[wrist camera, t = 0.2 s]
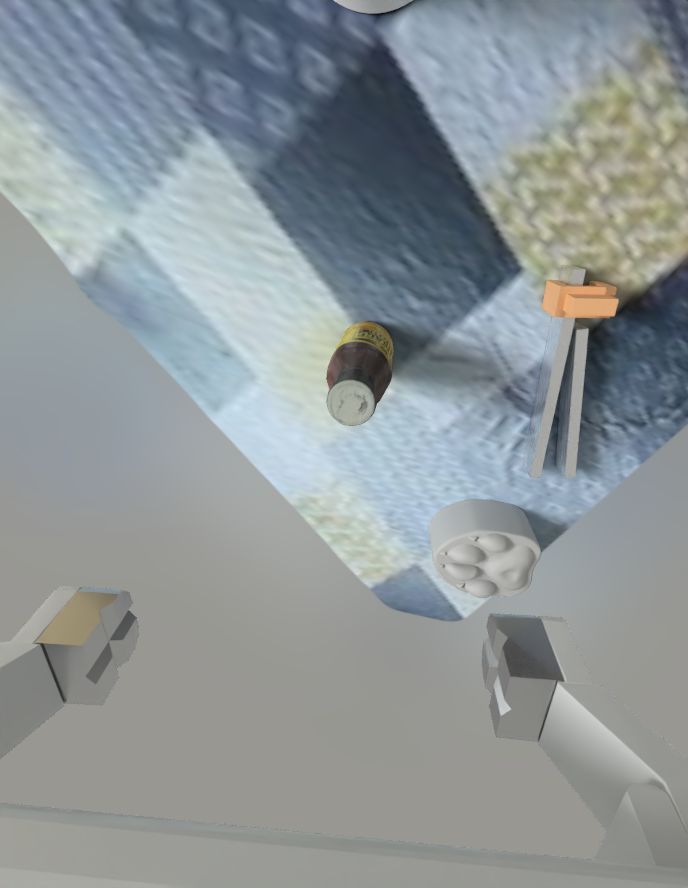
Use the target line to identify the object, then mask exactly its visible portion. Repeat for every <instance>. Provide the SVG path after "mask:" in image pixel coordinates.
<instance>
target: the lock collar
mask: <svg viewBox="0 0 688 888" xmlns="http://www.w3.org/2000/svg"><path fill="white" fill-rule="evenodd" d="M616 290H617V287H614V286H612V285H609V284H606V283H603V282H600V281H589V285H588V286H571V285H566V284H564V283H561V282H559V281H557V280H547V284H546V289H545V295H544V300H543V305H542V309H543V310H544V311H546V312H547V313H549V314H550V315H552V316H553V317H569V318H610V316H615V313H616V309H617V305H618V301H619V299H618V298H615V294H616Z"/></svg>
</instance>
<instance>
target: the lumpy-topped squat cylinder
mask: <svg viewBox="0 0 688 888" xmlns="http://www.w3.org/2000/svg"><path fill="white" fill-rule="evenodd" d="M429 536H430V543H431V550H432V558H433V564H434V567H435V569H436V570H437V572H438V573H439V575H440V576H441V577H442V578H443V579H444V580H445V581H446V582H448V583H449V584H451V585H452V586H454V587H456V588H457V589H459V590H461V591H465V592H469V593H471V594H472V595H474V596H475V597H478V598H487V597H489V596H503V597H505V596H515V595H518V594H520V593H522V592H523V591H525V590H526V589H527V588H528V587H529V586H530V584H531V580H532V572H533V569H534V567H535V565H536V563H537V562H538V561H539V559H540V556H541V548H540V545H539V543H538V541H537V539H536V537H535V534H534V532H533V530H532V528H531V526H530V523H529V521H528V519H527V517H526V515H525V513H524V512H523V510H521V509H520V508H519V507H517V506H515V505H512V504H508V503H503V502H498V501H492V500H483V499H468V500H463V501H460V502H457V503H454V504H451V505H449V506H447V507H445V508H443V509H441V510H440V511H439V512H437V513H436V514H435V515H434V516H433V517H432V519H431V520H430V523H429Z"/></svg>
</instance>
